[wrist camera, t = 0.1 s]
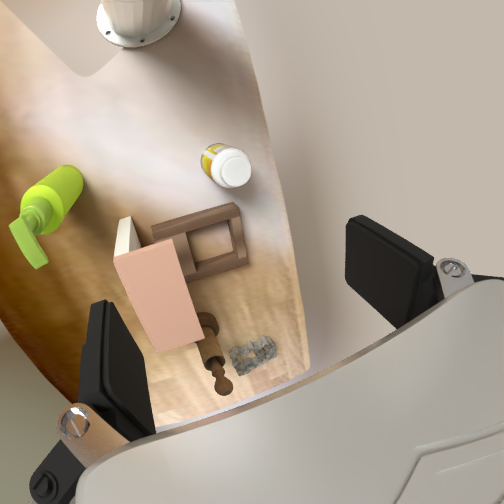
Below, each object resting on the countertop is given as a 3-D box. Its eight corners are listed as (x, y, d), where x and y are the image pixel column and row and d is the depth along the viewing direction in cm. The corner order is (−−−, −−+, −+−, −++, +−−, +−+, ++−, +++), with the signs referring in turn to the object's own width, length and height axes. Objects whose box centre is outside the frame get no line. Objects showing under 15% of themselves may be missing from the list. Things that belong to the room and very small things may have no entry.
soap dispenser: (62, 213, 38) (21, 279, 22) (44, 175, 35) (-12, 221, 18) (92, 197, 39) (62, 256, 23) (74, 158, 36) (29, 192, 19)
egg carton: (232, 366, 67) (237, 378, 64) (226, 346, 64) (231, 359, 60) (272, 351, 70) (279, 362, 67) (269, 331, 66) (277, 343, 63)
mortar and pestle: (207, 306, 56) (236, 375, 41) (221, 326, 60) (251, 392, 45) (179, 322, 56) (199, 393, 41) (194, 340, 59) (217, 409, 44)
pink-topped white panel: (119, 219, 43) (113, 261, 31) (163, 205, 44) (173, 242, 33) (149, 298, 51) (157, 353, 39) (187, 286, 53) (205, 338, 41)
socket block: (151, 226, 45) (152, 233, 43) (232, 202, 49) (238, 207, 46) (168, 279, 51) (170, 288, 48) (242, 255, 54) (248, 263, 51)
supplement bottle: (219, 183, 46) (238, 201, 38) (192, 163, 43) (206, 176, 35) (240, 156, 45) (265, 168, 37) (215, 135, 42) (235, 141, 34)
